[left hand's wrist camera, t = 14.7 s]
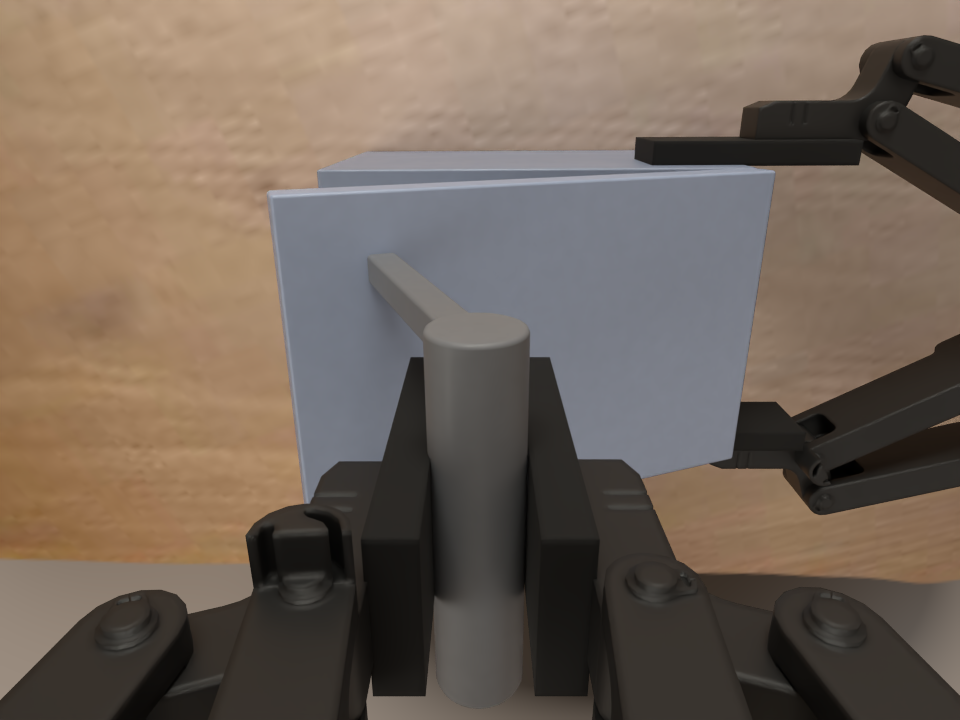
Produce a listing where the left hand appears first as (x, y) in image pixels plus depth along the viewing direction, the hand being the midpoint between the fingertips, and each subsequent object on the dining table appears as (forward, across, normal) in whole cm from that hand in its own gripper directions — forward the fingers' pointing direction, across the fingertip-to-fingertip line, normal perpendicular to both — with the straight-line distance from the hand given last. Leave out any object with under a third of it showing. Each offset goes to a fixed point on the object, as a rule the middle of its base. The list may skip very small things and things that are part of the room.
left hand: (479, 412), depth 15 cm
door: (+5, +2, 0) cm, 5 cm away
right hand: (+9, +6, 0) cm, 11 cm away
